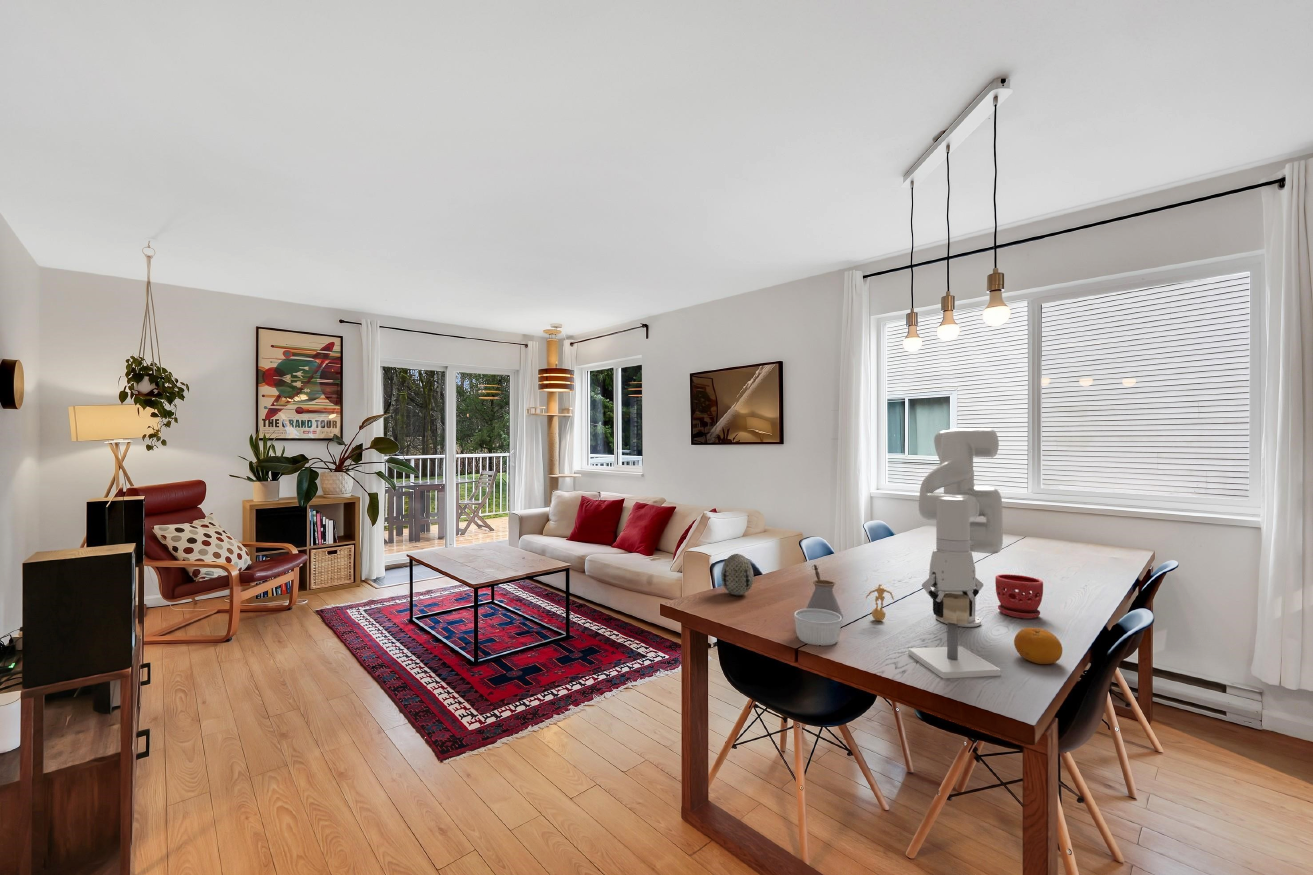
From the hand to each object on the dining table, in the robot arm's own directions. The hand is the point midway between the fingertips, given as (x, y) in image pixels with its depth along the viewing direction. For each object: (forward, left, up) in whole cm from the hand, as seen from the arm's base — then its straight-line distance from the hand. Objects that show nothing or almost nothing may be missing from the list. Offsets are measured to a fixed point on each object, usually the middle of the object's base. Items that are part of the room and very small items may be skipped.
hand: (952, 614), depth 142 cm
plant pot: (-35, +47, -13) cm, 60 cm away
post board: (0, 0, -13) cm, 13 cm away
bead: (0, 0, -1) cm, 1 cm away
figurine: (-33, -2, -13) cm, 36 cm away
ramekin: (-21, -27, -13) cm, 37 cm away
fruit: (0, +24, -13) cm, 27 cm away
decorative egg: (-67, -39, -13) cm, 78 cm away
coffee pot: (-38, -19, -13) cm, 45 cm away
